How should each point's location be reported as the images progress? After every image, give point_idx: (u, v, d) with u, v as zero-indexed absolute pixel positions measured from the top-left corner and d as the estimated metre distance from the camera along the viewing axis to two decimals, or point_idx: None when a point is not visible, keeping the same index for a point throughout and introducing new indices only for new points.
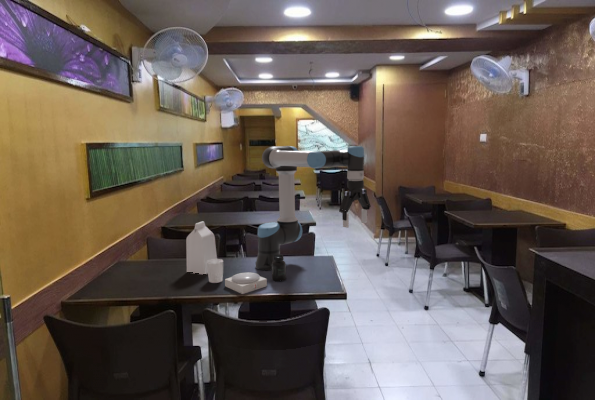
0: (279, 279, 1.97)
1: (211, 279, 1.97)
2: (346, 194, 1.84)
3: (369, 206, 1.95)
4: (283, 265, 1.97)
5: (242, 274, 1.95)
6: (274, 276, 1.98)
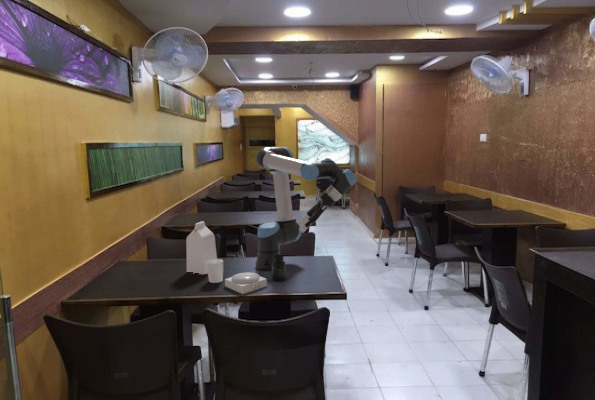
0: (279, 279, 1.97)
1: (211, 279, 1.97)
2: (323, 208, 1.89)
3: None
4: (283, 265, 1.97)
5: (242, 274, 1.95)
6: (274, 276, 1.98)
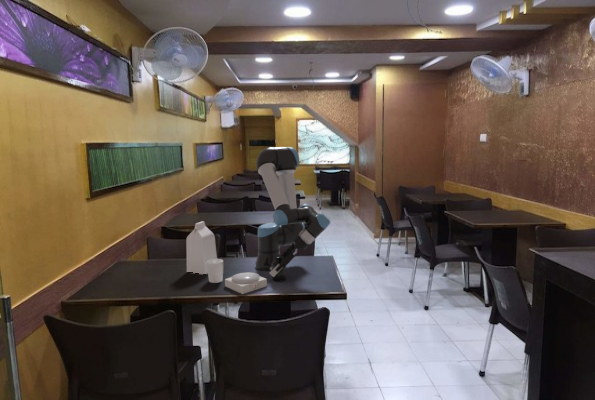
0: (279, 279, 1.97)
1: (211, 279, 1.97)
2: (294, 254, 1.92)
3: None
4: None
5: (242, 274, 1.95)
6: (274, 276, 1.98)
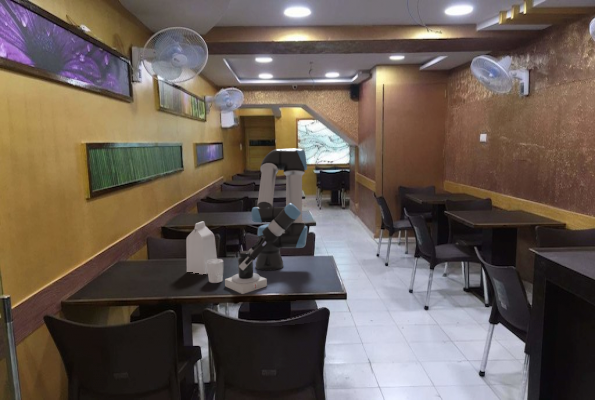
0: (245, 276, 1.88)
1: (211, 279, 1.97)
2: (264, 245, 1.82)
3: None
4: None
5: None
6: (240, 273, 1.88)
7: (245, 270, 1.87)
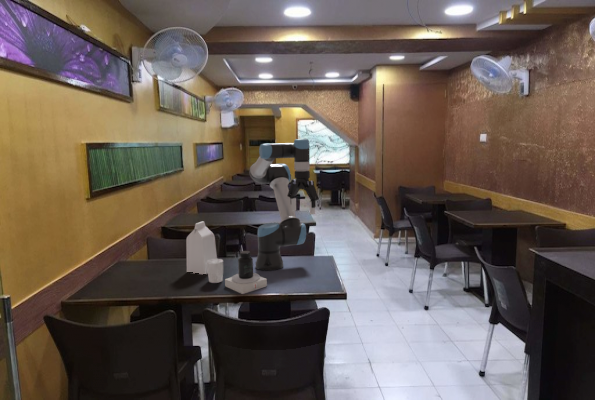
0: (245, 276, 1.88)
1: (211, 279, 1.97)
2: (312, 183, 1.98)
3: None
4: (250, 262, 1.88)
5: None
6: (240, 273, 1.88)
7: (245, 270, 1.87)
